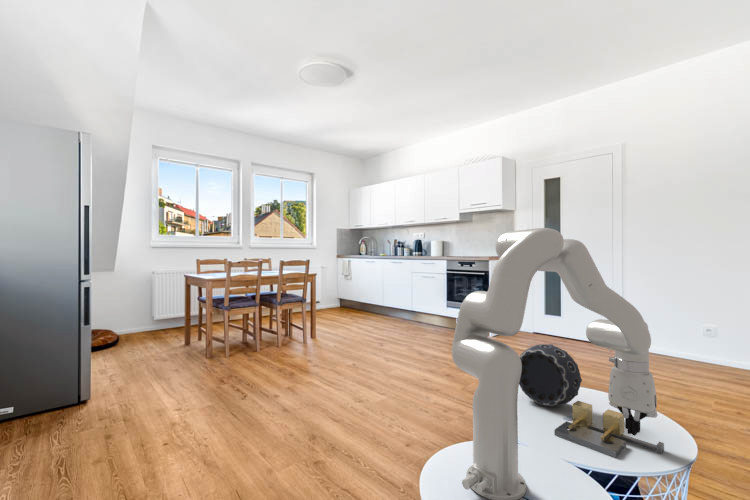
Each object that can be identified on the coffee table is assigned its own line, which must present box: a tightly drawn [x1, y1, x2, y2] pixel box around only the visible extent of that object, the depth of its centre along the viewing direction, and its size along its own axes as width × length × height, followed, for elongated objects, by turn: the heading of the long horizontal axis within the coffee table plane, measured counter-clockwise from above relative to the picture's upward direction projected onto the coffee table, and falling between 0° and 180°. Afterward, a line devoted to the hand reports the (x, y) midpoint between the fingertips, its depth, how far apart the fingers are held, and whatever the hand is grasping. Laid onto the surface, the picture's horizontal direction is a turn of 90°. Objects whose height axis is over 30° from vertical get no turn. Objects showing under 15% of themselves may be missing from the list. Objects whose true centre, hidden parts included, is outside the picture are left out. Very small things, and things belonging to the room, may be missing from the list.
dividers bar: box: [569, 400, 665, 455], centre depth 98 cm, size 11×21×6 cm, turn 40°
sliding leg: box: [601, 408, 625, 440], centre depth 98 cm, size 11×4×5 cm, turn 130°
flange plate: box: [553, 421, 627, 459], centre depth 98 cm, size 8×15×2 cm, turn 40°
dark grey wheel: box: [519, 343, 583, 408], centre depth 122 cm, size 11×20×20 cm, turn 37°
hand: (632, 433), depth 97 cm, fingers closed
